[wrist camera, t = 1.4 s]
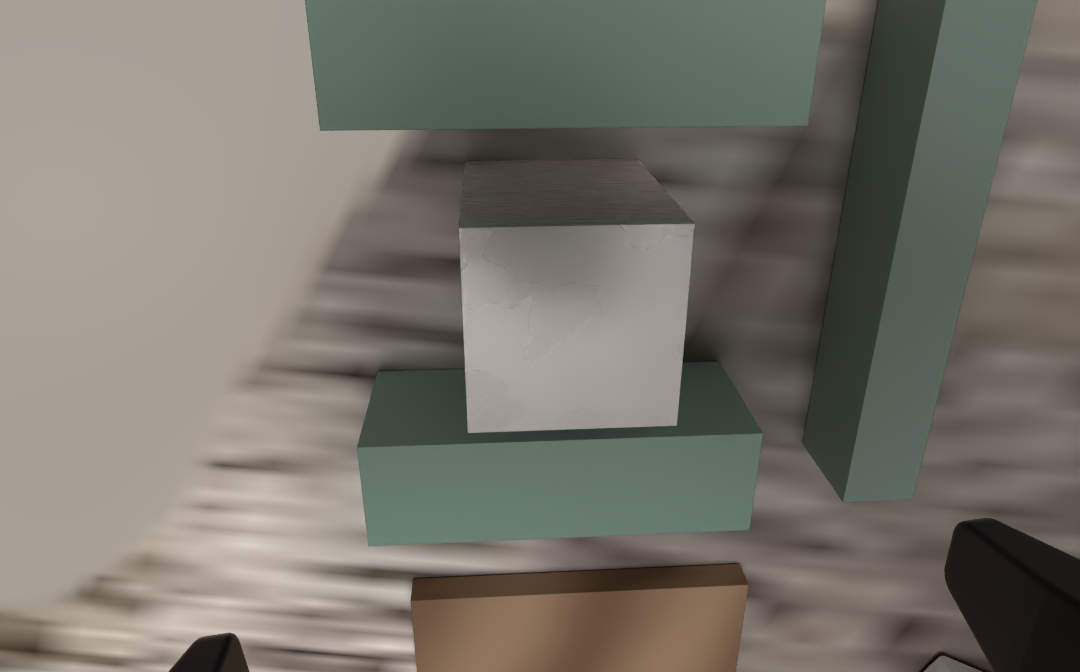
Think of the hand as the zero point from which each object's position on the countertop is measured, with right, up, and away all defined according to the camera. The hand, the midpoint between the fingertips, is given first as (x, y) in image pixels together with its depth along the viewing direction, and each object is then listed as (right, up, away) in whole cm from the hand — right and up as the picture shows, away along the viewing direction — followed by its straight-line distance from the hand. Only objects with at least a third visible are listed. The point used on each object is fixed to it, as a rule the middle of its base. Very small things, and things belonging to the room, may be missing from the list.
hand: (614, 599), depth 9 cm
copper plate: (0, -10, +19) cm, 21 cm away
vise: (+2, +7, +11) cm, 13 cm away
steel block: (-1, +6, +12) cm, 13 cm away
